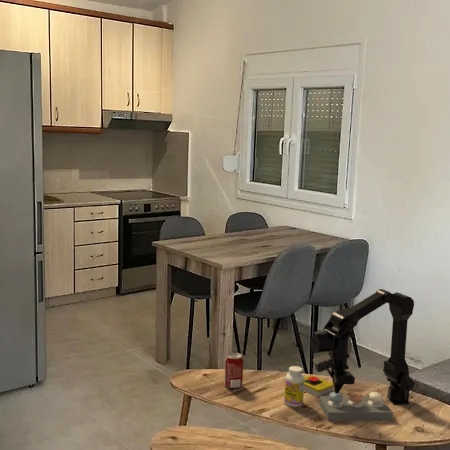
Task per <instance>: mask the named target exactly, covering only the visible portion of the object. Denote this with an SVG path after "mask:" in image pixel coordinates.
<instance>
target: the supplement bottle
mask: <svg viewBox="0 0 450 450" xmlns="http://www.w3.org/2000/svg"><path fill="white" fill-rule="evenodd" d="M304 377H305V376H304V375H303V368H302V367H301V366H298V365H292V366H289V368H288V373H287V374H286V376H285V382H284V383H285V384H284V395H283V396H284V397H283V402H284V403H285V405H287V406H289V407H295V408H298V407H300V406H302V405H303V403H304V393H305V391H304V381H305V379H304Z"/></svg>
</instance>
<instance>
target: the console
mask: <svg viewBox="0 0 450 450" xmlns="http://www.w3.org/2000/svg"><path fill="white" fill-rule="evenodd" d="M349 396H350V395H347V396H345V395H343V399H342V402H339V403H335V402H332V401H330V400H329V396H320V398H319V401H318V402H319V403H318V405H319V407H320V409H321V411H322V412H323V414H324V416H325V418H326V420H327V422H365V421H366V422H370V421H371V422H376V421H377V422H380V421H381V422H386V421H387V422H388V421H389V422H392V421H393V416H394V411H393V410H392V409H391V408H390V407H389V405H388V404H387V402H386V401H385V400H384V399H383V398H382V402H380V403H376V402H372V401H370V400H369V396H367V395H365V396H364V395H363V399H362V402H360V403H356V402H352V401H350V400H349Z"/></svg>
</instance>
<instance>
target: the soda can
mask: <svg viewBox="0 0 450 450" xmlns="http://www.w3.org/2000/svg"><path fill="white" fill-rule="evenodd" d="M243 358H244V357H243V355H242V354H241V353H239V352H230V353H227V355H226V358H225V360H224V380H223V382H224V383H223V384H224V386H225V387H226V388H228V387H229V389H231V388H234V389H233V390H235V389H236V388H237V389H239V388H241V387H242V386H243V382H244V381H243V379H244V377H243V376H244V375H243V374H244V359H243ZM237 389H236V390H237Z"/></svg>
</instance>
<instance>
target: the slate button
mask: <svg viewBox="0 0 450 450" xmlns="http://www.w3.org/2000/svg"><path fill="white" fill-rule="evenodd" d="M343 396H344V395H343V394H342V393H340V392H339V393H338V394H336V393H335V392H331V393H330V396H329V400H330V401H332V402H335V403H339V402H342V399H343Z"/></svg>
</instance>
